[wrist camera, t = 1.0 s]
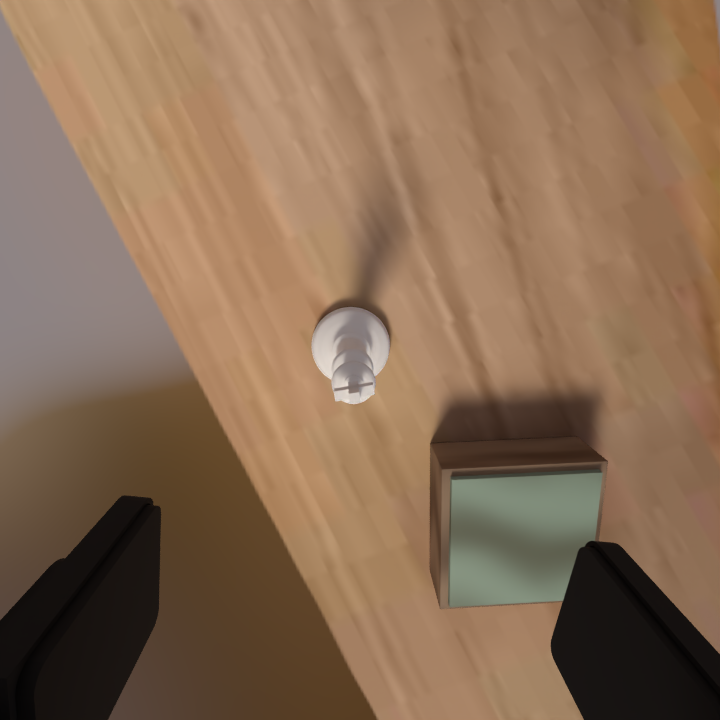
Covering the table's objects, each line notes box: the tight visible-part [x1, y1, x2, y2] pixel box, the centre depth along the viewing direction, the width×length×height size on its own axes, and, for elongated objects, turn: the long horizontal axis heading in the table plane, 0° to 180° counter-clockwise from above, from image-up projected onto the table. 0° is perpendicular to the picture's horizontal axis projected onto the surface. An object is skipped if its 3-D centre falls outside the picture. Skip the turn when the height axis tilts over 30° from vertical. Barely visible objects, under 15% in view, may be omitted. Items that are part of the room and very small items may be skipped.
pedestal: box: [430, 436, 608, 609], centre depth 29 cm, size 10×10×4 cm
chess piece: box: [312, 307, 390, 404], centre depth 23 cm, size 5×5×10 cm
